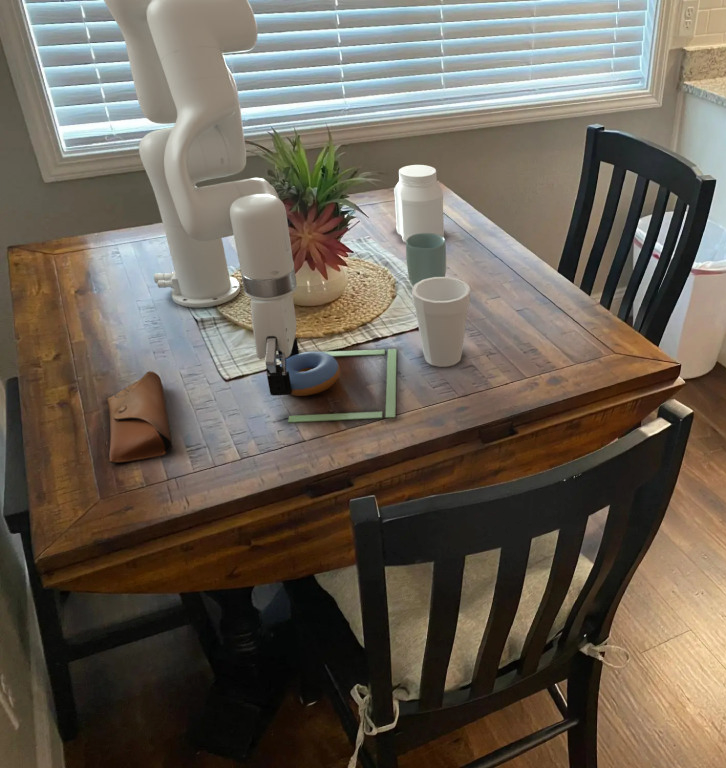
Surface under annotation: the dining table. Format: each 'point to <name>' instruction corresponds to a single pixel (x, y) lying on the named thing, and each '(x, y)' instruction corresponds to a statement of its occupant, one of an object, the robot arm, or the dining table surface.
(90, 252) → the dining table surface
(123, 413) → the sunglasses case
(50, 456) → the dining table surface
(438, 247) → the cup
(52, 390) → the dining table surface
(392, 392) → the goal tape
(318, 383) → the doughnut
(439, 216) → the jar
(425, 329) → the foam cup
